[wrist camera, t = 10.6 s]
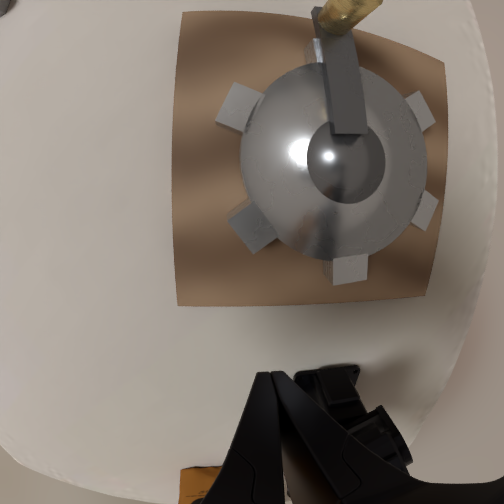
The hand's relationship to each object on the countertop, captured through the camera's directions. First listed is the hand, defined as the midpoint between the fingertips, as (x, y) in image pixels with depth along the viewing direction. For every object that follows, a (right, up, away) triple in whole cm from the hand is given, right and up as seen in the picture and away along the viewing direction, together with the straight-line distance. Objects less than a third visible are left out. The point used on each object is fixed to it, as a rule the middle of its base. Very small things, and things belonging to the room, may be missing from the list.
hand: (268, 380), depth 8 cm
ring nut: (+5, +10, +8) cm, 14 cm away
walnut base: (+4, +10, +10) cm, 15 cm away
